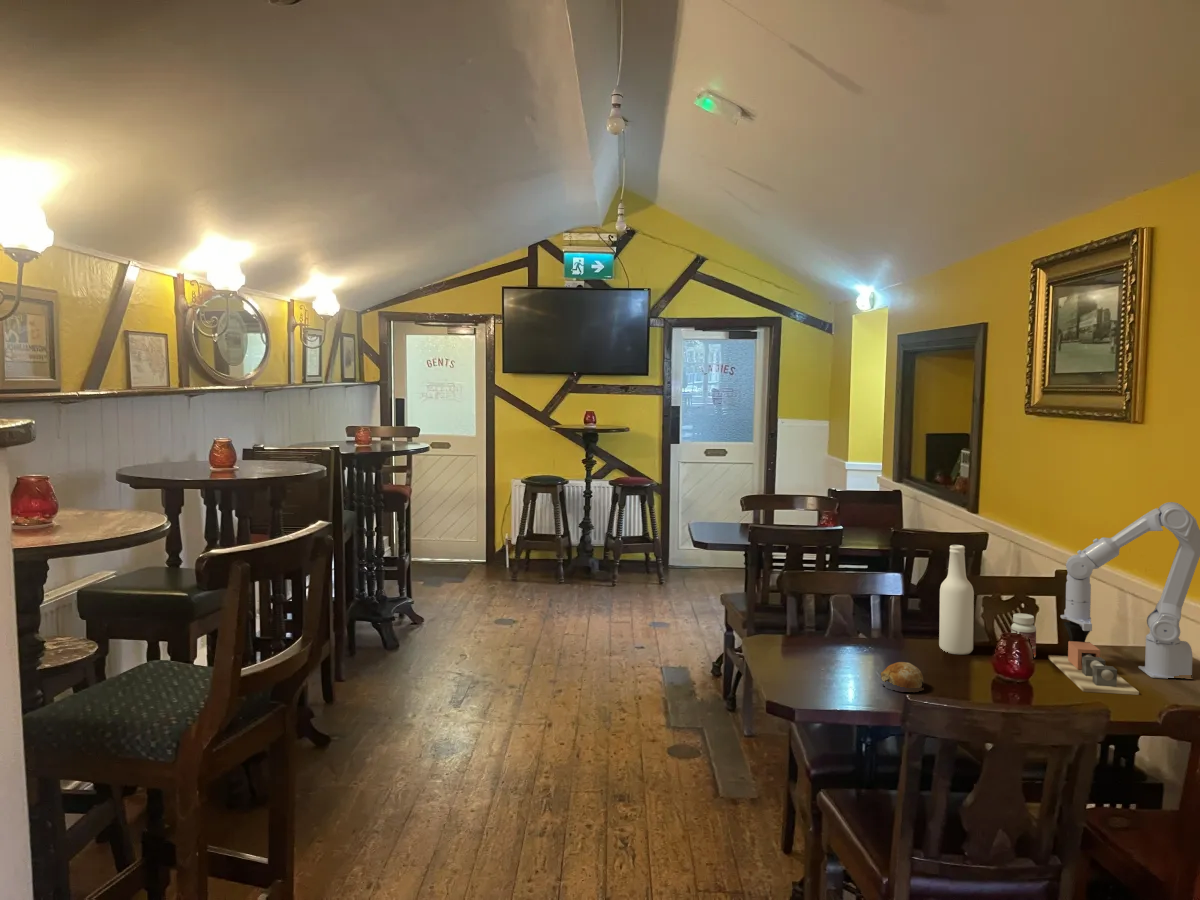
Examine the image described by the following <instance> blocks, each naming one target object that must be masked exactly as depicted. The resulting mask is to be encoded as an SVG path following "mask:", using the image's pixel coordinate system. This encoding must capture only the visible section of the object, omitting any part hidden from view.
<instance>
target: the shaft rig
mask: <svg viewBox="0 0 1200 900" xmlns="http://www.w3.org/2000/svg"><path fill="white" fill-rule="evenodd" d="M1047 658H1048V660H1049V661H1050V662H1051V663H1052V664H1054V665H1055V666H1056V667H1057V668H1058V669H1059V670H1060V671H1061V672H1062V673H1063V674H1064V675H1065V676H1066V677H1067V678H1068V679H1070V681H1072V682H1073V683H1074V685H1076V687H1078V688H1079V690H1081V691H1082V692H1084V693H1101V694H1115V695H1116V694H1118V695H1133V696H1134V695H1136V696H1139V695H1140V691H1139V690H1137V689H1136V688H1135V687H1134V686H1132V685H1131V684H1130V683H1129V682H1127V680H1125V679H1124V678H1123V677H1121V676H1120V675H1119V674H1118V669H1117V668H1115V667H1114V666H1113V665H1112V666H1111V665H1107V664H1106V660H1105V659H1104V658H1103V657H1101V656H1100V657H1093V656H1092V655H1090V654H1089V653H1082V669H1077V668H1076V667H1075V666H1074V665H1073V664H1072V663H1070V662H1069V661H1068V655H1056V654H1053V655H1052V654H1048V655H1047Z"/></svg>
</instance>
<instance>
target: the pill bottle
mask: <svg viewBox="0 0 1200 900" xmlns="http://www.w3.org/2000/svg"><path fill="white" fill-rule="evenodd" d="M1012 616H1013V617H1012V622H1014V623H1011V626H1010V629H1011V630H1010V634H1011V633H1017V634H1021V635H1024V636H1026V637H1028V638H1029V639H1030V643H1031V645H1032V650H1033V654H1034V658H1036V656H1037V628H1036V626H1035V624H1034V623H1035V617H1034V615H1032V614H1030V613H1029V614H1028V613H1021V612H1018V613H1017V612H1016V613H1013V615H1012Z"/></svg>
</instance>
